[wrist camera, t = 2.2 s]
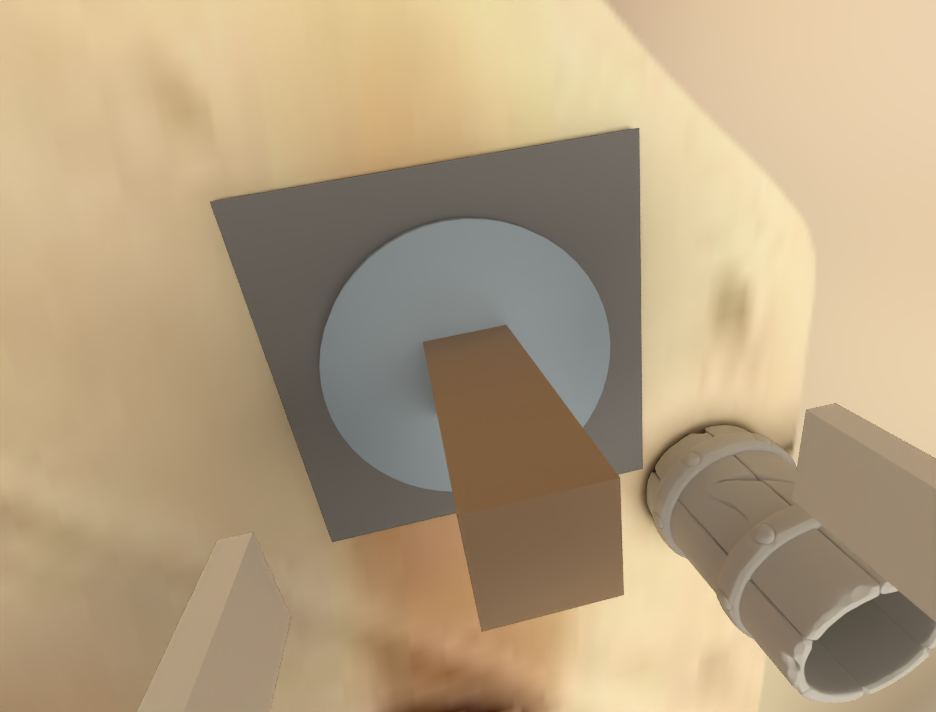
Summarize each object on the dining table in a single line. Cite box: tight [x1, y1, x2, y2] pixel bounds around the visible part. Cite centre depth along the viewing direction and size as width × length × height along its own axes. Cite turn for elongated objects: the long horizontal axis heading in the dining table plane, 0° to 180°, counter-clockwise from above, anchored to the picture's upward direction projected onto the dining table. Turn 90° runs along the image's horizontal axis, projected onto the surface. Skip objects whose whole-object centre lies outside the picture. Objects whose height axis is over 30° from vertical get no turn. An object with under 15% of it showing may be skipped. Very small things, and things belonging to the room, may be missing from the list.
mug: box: [647, 425, 936, 702], centre depth 21 cm, size 8×12×12 cm, turn 107°
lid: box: [319, 217, 624, 632], centre depth 15 cm, size 12×12×11 cm
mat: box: [210, 128, 643, 542], centre depth 21 cm, size 16×16×1 cm
